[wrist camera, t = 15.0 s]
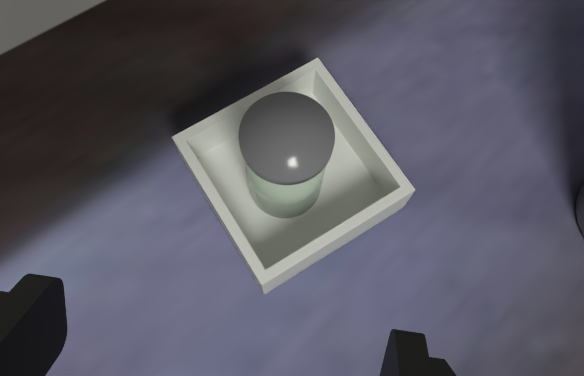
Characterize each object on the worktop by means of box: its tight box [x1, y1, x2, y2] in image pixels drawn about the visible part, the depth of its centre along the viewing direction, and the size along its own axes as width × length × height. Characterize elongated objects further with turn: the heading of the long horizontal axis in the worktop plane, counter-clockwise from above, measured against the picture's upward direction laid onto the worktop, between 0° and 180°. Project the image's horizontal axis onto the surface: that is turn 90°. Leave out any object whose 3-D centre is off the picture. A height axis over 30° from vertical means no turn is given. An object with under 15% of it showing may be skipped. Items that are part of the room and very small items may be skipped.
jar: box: [239, 92, 335, 218], centre depth 41 cm, size 6×6×10 cm
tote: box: [172, 58, 415, 295], centre depth 44 cm, size 14×14×5 cm
